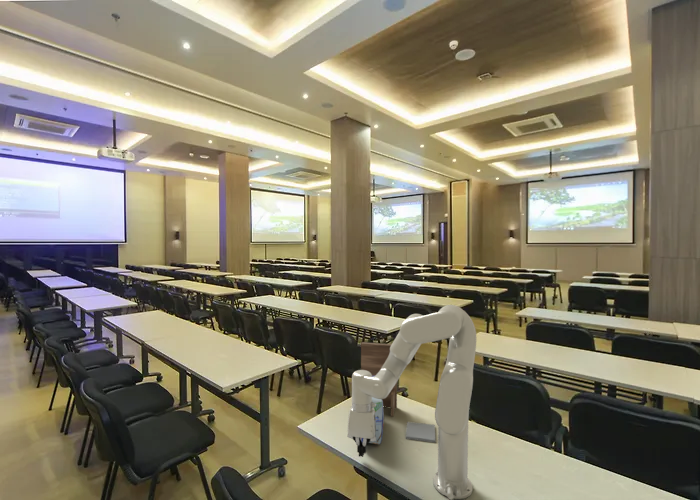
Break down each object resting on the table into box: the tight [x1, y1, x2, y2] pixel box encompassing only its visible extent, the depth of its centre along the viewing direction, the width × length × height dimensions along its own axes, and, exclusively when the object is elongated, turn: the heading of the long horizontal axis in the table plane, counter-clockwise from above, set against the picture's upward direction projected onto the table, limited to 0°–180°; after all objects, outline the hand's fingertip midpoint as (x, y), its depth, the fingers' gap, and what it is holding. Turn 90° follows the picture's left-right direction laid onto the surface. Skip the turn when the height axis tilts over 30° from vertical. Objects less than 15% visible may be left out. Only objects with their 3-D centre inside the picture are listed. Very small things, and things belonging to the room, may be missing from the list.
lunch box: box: [361, 376, 385, 445], centre depth 144 cm, size 28×10×22 cm, turn 179°
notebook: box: [405, 421, 436, 443], centre depth 143 cm, size 12×12×2 cm
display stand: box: [360, 341, 398, 417], centre depth 163 cm, size 10×18×31 cm, turn 77°
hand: (361, 454), depth 123 cm, fingers closed
